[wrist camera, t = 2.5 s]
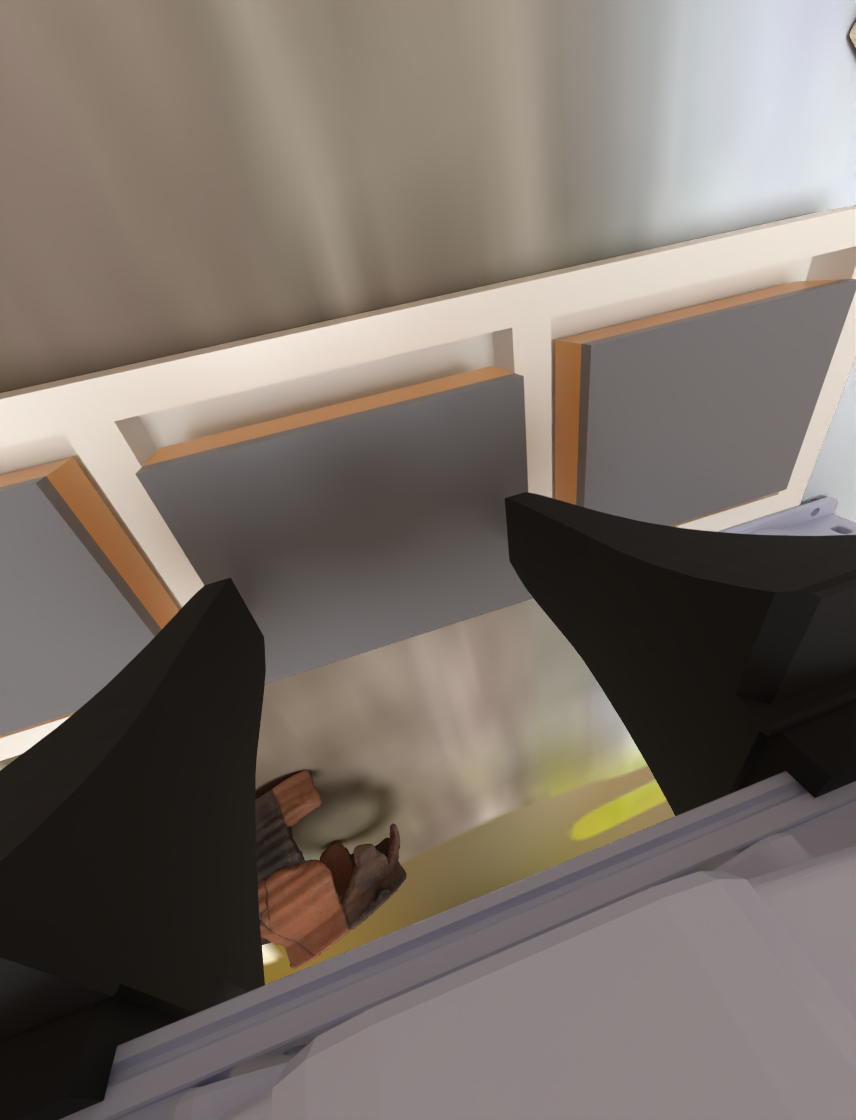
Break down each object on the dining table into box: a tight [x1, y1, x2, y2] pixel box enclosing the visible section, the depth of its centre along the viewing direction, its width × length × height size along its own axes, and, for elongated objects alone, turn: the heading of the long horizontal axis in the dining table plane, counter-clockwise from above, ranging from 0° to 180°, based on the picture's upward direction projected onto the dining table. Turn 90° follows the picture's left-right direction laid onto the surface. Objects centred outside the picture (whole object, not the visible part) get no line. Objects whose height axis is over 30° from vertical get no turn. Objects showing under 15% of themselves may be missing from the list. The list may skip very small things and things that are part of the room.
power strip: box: [0, 205, 856, 761], centre depth 14 cm, size 45×11×3 cm, turn 100°
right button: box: [555, 279, 856, 526], centre depth 15 cm, size 9×7×2 cm
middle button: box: [136, 366, 533, 684], centre depth 12 cm, size 9×7×2 cm
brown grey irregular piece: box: [255, 770, 406, 969], centre depth 25 cm, size 12×10×8 cm
